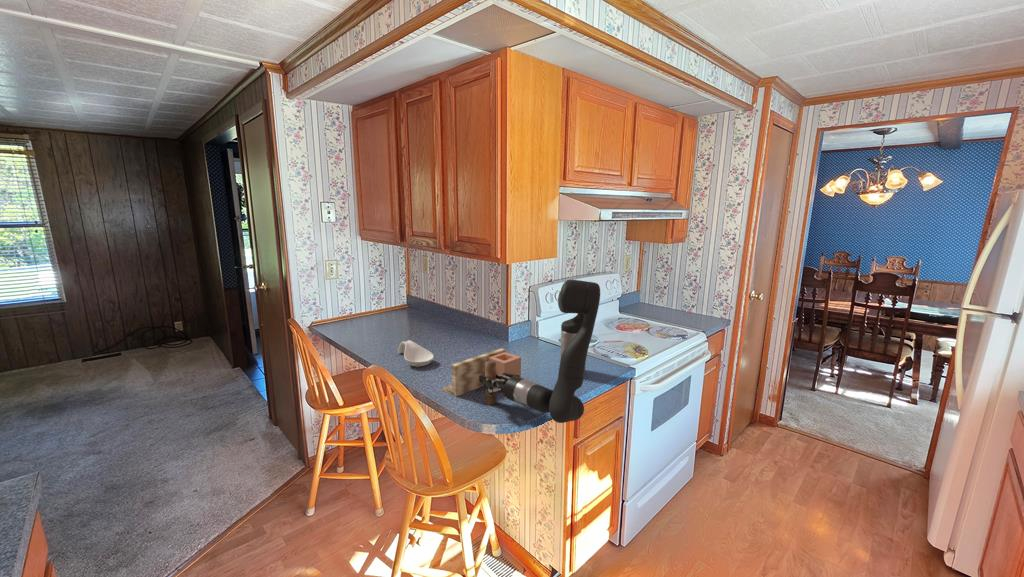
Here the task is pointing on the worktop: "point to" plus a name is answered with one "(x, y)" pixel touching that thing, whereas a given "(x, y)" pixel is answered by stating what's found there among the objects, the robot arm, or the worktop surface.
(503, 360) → the socket block
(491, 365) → the dowel
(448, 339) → the worktop surface
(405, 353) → the spoon rest
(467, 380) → the backstop wall
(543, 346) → the worktop surface
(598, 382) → the worktop surface
